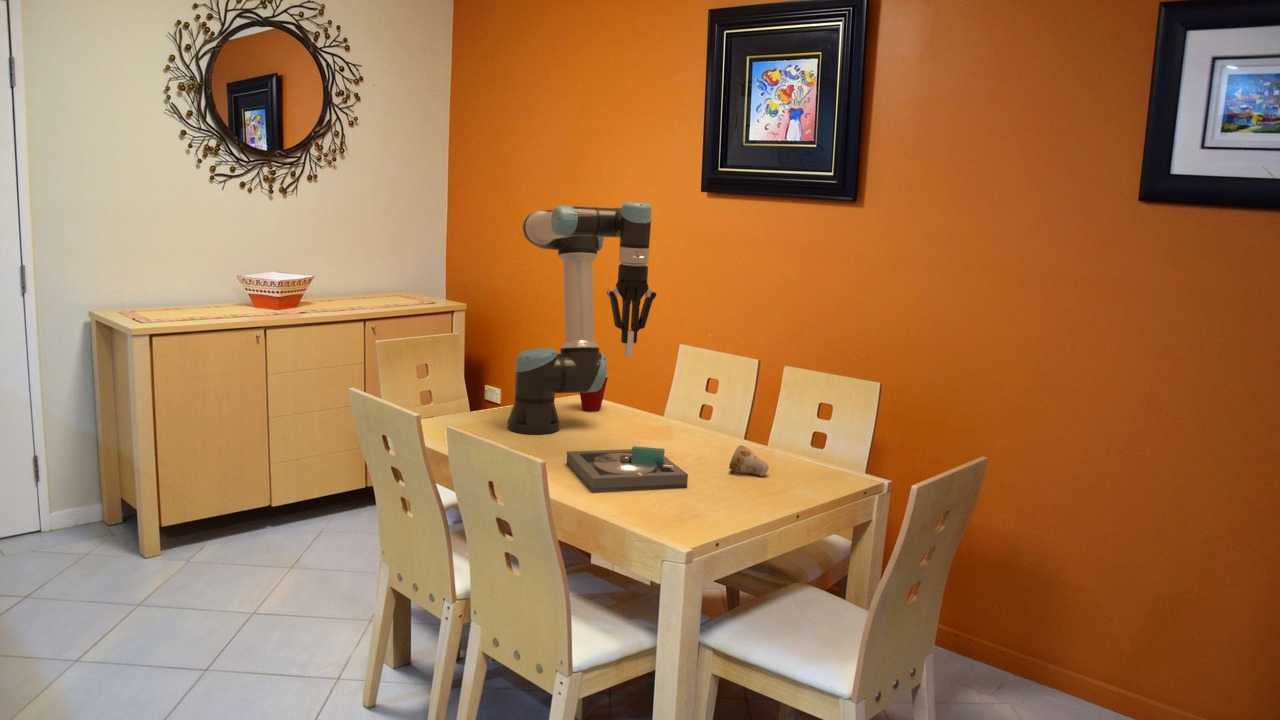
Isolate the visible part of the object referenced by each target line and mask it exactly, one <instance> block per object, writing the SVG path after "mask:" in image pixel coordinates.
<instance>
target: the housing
mask: <svg viewBox="0 0 1280 720" xmlns="http://www.w3.org/2000/svg"><path fill="white" fill-rule="evenodd" d="M609 453H632V448H631V449H630V448H629V449H628V448H627V449H625V448H624V449H605V450H603V449H601V450H576V451H566V466H567V467H568V468H569V469H570V470H571V471H572V472H573V473H574V474H575V476H576V477H578V479H579V480H580V481H581V482H582V483H583V484H584V485H585V486H586V487H587V488H588V489H589V490H590V492H591V493H592V494H593V493H608V492H609V493H610V492H613V493H614V492H630V491H631V492H633V491H649V490H651V491H652V490H668V489H669V490H670V489H687V488H688V481H689V480H688V478H689V477H688V475H689V474H688V473H687V472H686V471H684V470H683V469H682V468H680V467H679V466H678V465H677V464H676V463H674V461H671V460H670V459H669V458H668V457H666V456H665V455H664V465H663V466H661V465H657V473H637V474H616V475H600V474H599V473H598V472H597V471H596V470H595V469H594V468H593V467H594V459H595V458H596V457H597V456H600V455H603V454H609Z"/></svg>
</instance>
